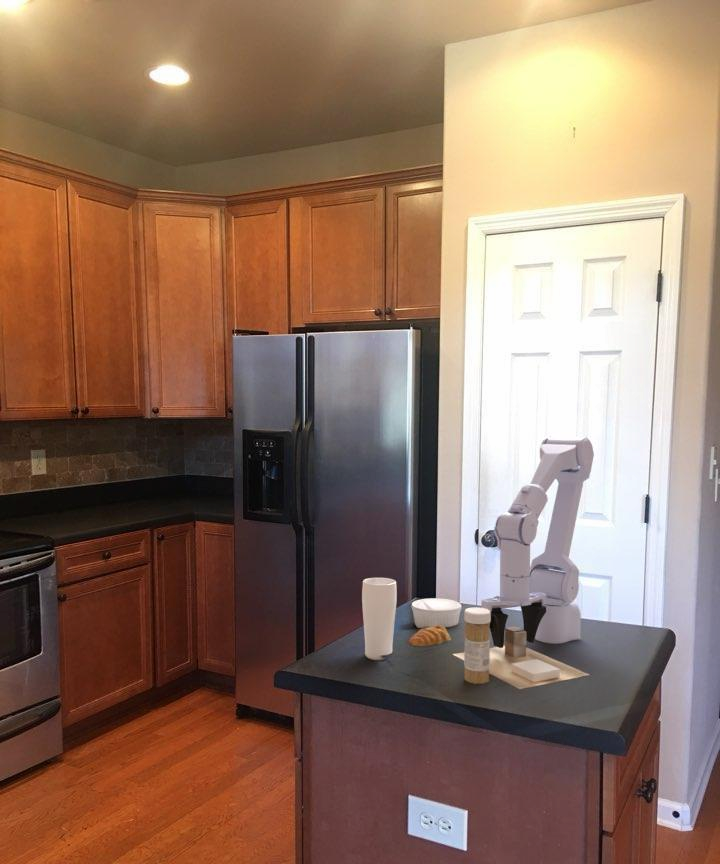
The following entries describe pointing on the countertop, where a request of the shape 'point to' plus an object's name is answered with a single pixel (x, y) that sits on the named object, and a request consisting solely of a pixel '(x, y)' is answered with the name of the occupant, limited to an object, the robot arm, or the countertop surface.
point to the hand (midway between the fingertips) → (513, 643)
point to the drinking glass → (378, 616)
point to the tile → (535, 670)
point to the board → (502, 661)
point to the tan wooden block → (515, 642)
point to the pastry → (430, 636)
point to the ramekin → (436, 612)
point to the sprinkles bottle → (477, 645)
